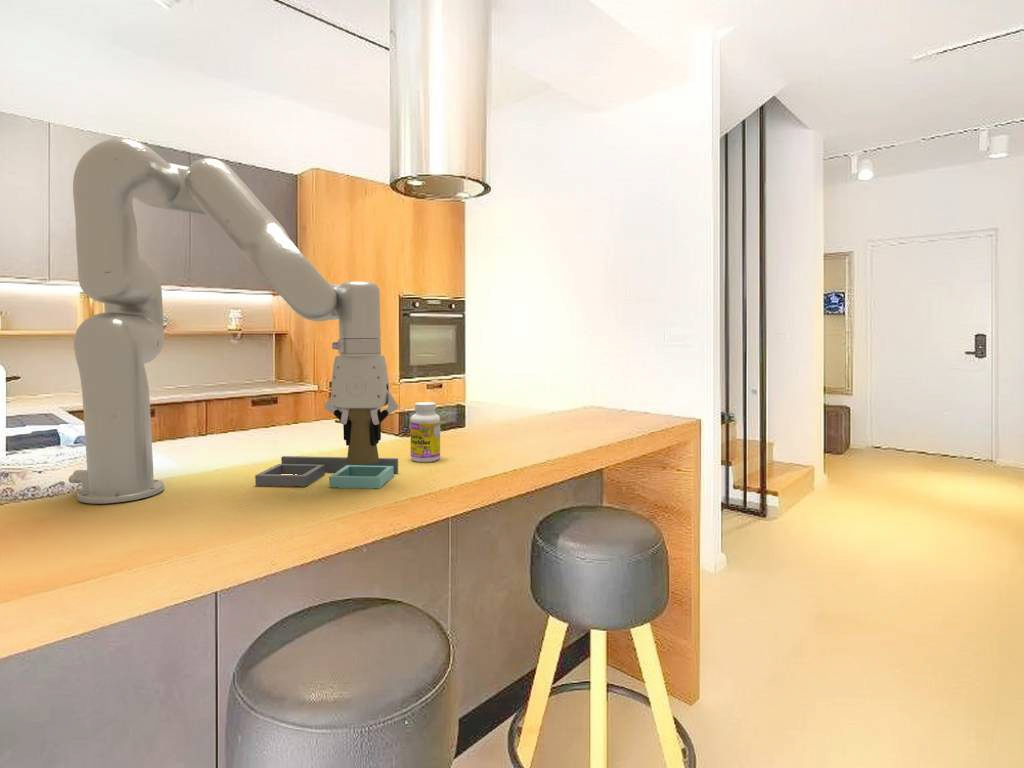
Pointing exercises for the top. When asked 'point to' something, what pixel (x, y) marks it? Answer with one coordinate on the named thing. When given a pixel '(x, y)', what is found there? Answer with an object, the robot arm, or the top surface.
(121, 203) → the robot arm
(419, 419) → the supplement bottle
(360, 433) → the cork
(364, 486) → the panel
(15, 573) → the top surface
